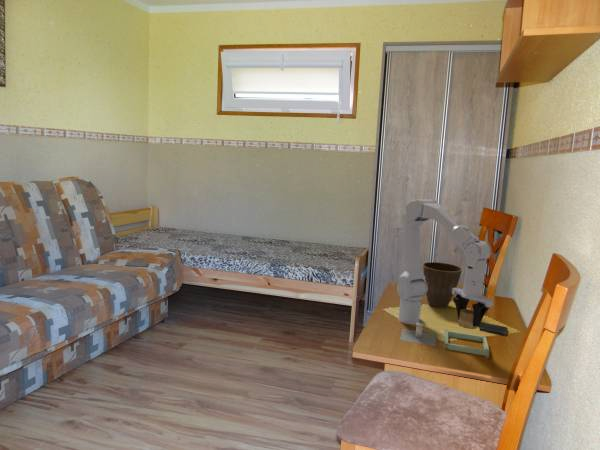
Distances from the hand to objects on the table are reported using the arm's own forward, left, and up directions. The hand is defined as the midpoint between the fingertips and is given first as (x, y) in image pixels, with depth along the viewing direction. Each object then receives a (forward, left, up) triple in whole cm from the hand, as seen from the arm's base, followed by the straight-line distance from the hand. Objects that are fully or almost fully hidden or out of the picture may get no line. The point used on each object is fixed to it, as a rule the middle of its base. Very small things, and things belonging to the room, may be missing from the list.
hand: (468, 322), depth 154 cm
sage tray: (0, 0, -8) cm, 8 cm away
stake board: (0, -15, -8) cm, 17 cm away
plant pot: (-43, -9, -8) cm, 45 cm away
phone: (-23, +7, -9) cm, 26 cm away
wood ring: (0, 0, -1) cm, 1 cm away
